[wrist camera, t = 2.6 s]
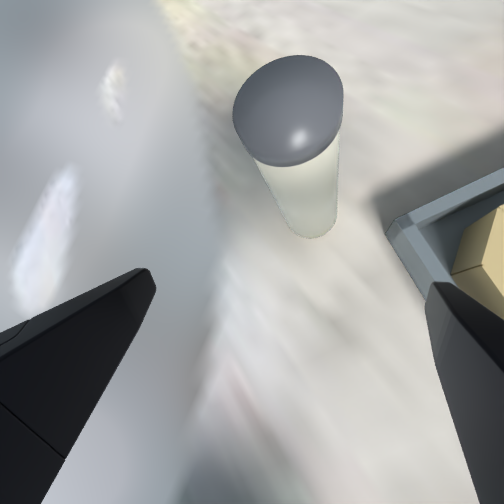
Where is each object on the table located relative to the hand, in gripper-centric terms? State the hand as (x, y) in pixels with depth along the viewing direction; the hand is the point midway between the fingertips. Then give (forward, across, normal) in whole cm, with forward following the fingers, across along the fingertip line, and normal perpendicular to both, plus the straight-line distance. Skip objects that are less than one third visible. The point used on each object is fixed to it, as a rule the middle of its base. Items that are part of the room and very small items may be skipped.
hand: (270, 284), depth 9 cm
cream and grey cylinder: (+14, 0, +4) cm, 15 cm away
